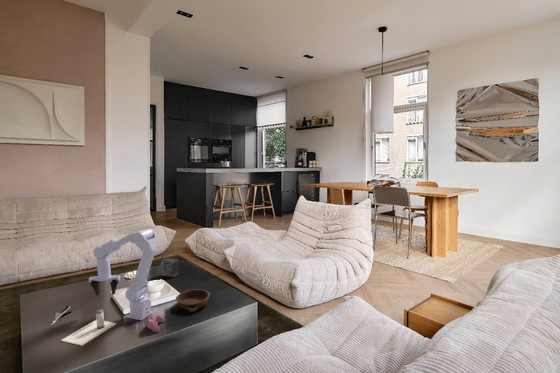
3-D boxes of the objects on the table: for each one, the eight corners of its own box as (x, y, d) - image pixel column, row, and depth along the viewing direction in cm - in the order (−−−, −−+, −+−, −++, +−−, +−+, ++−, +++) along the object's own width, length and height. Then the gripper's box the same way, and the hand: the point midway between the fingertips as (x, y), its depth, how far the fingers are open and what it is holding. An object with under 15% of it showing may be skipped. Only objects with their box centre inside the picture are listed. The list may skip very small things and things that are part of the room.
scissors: (42, 326, 150) (42, 321, 150) (64, 306, 171) (64, 302, 170) (60, 324, 151) (59, 320, 151) (79, 304, 172) (79, 300, 172)
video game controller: (157, 324, 152) (149, 312, 151) (165, 320, 152) (158, 308, 151) (151, 336, 142) (143, 323, 141) (160, 331, 142) (152, 318, 142)
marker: (106, 325, 148) (104, 309, 147) (101, 329, 145) (100, 312, 144) (100, 325, 149) (98, 309, 148) (95, 328, 146) (94, 312, 145)
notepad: (116, 324, 150) (116, 323, 150) (82, 345, 133) (81, 344, 133) (96, 320, 154) (96, 319, 154) (61, 341, 137) (61, 340, 137)
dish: (173, 316, 157) (173, 307, 156) (178, 297, 178) (178, 288, 178) (209, 312, 160) (209, 303, 160) (210, 294, 182) (210, 285, 181)
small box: (180, 274, 213) (179, 259, 212) (173, 278, 207) (172, 262, 206) (167, 272, 217) (167, 257, 216) (160, 275, 211) (159, 260, 210)
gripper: (122, 265, 165) (123, 290, 166) (93, 266, 163) (94, 291, 165) (116, 270, 158) (118, 296, 159) (85, 271, 156) (87, 297, 158)
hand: (105, 294), depth 161 cm, fingers open, 7 cm apart
